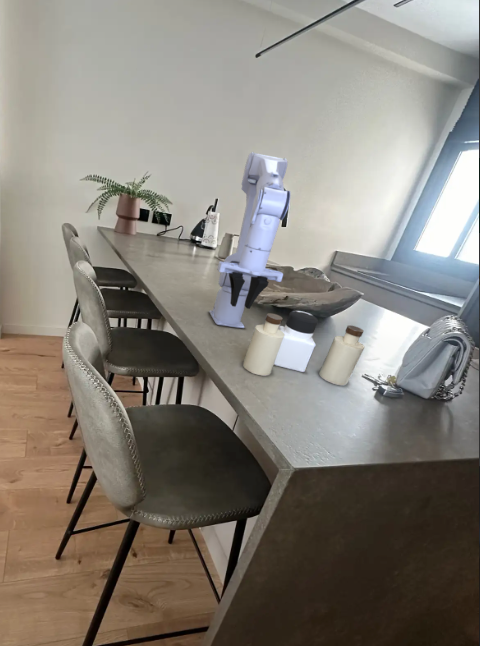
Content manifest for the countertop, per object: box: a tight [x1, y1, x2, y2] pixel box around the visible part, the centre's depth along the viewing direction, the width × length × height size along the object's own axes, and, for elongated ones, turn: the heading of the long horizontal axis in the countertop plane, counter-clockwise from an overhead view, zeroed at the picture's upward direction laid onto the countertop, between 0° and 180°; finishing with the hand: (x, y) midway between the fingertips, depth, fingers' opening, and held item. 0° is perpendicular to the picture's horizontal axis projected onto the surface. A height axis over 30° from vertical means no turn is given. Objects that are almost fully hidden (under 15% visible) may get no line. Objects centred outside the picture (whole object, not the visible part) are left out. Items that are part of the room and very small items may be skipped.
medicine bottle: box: [273, 310, 319, 373], centre depth 83 cm, size 7×7×12 cm
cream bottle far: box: [318, 324, 365, 386], centre depth 80 cm, size 6×6×12 cm
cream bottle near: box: [242, 312, 284, 377], centre depth 77 cm, size 6×6×12 cm
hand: (239, 306), depth 86 cm, fingers open, 3 cm apart
